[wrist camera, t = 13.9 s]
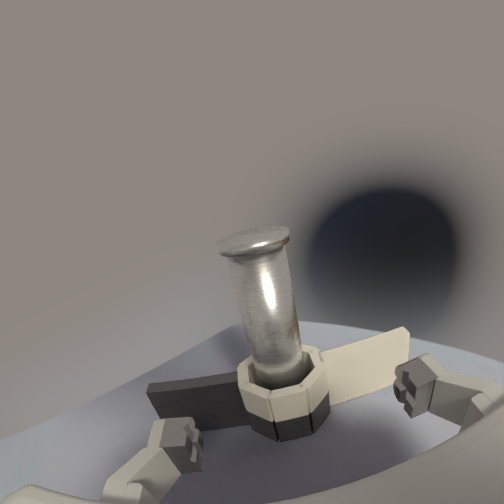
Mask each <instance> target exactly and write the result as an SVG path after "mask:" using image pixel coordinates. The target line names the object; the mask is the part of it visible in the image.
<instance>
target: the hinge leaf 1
mask: <svg viewBox="0 0 504 504" xmlns="http://www.w3.org/2000/svg"><path fill="white" fill-rule="evenodd" d="M307 376H308V375H306V377H307ZM258 386H259V385H258ZM146 394H147V395H148V397H149V399H150V401H151V403H152V405H153V407H154V408H155V410H156V412H157V414H158V416H159V417H160V419H167V418H181V417H192V418H193V420H194V422H195V428H196V429H198V430H199V431H204V430H213V429H221V428H228V427H235V426H242V425H248V424H251V426H252V429H253V430H254V431H256V432H258V433H260V434H262V435H264V436H266V437H268V438H271V439H273V440H275V441H277V442H278V441H279V439H280V442H282V441H287V440H291V439H296V438H300V437H304V436H308V435H312V434H311V432H312V433H315V431H316V430H317V429H318V428H319V426H320V425H321V424H322V423H323V421H324V420H325V419H326V417H327V416H328V415H329V413H330V401H329V390H328V393H327V395H326V396H325V397H324V398H323V400H322V401H321V402H320V403H319V405H318V406H317V407H316V408H315V410H314V411H313V412H312V413H310V412H309V415H306V416H302V417H297V418H293V419H289V420H284V421H280V422H275V420H274V421H273V422H271V421H268V420H266V419H264V418H261V417H259V416H257V415H255V414H253V413H251V412H248V411H247V409H246V408H245V405H244V402H243V399H242V396H241V393H240V390H239V387H238V373H237V372H231V373H225V374H219V375H213V376H207V377H200V378H193V379H186V380H178V381H170V382H161V383H151V384H149V386H148V389H147V392H146Z"/></svg>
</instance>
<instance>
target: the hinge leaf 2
mask: <svg viewBox="0 0 504 504" xmlns="http://www.w3.org/2000/svg"><path fill="white" fill-rule="evenodd" d="M409 338H410V333H409V332H408V331H407V330H406V329H405V328H404V327H400V328H397V329H394V330H392V331H389V332H386V333H383V334H380V335H377V336H374V337H371V338H368V339H365V340H361V341H358V342H355V343H352V344H348V345H345V346H342V347H338V348H335V349H331V350H328V351H324V352H319V350H318V349H316V347H312V346H308V345H303V344H301V345H302V351H303V358H304V365H305V371H306V375H308V376H307V377H306V378H305V379H304V380H303V381H302V382H301V383H300V384H298V385H294V386H290V387H285V388H281V389H277V390H272V391H270V390H268V389H265V388H262V387H260V386H258V385H259V382H258V378H257V375H256V371H255V367H254V363H253V359H252V356H251V355H250V356H249V357H248V358H246V359H245V360H244V361H243V362H241V363H240V364H239V365H238V366H239V367H237V373H238V387H239V390H240V393H241V396H242V399H243V402H244V405H245V408H246V409H247V411H248V412H251V413H253V414H255V415H257V416H259V417H261V418H264V419H266V420H268V421H271V422H273V421H274V420H275V422H280V421H284V420H289V419H293V418H297V417H302V416H306V415H309V412H310V413H312V412H313V411H314V410H315V408H316V407H317V406H318V405H319V403H320V402H321V401H322V400H323V398H324V397H325V396H326V395H327V393H328V390H329V401H330V406H331V405H334V404H338V403H341V402H344V401H347V400H350V399H354V398H357V397H360V396H363V395H365V394H368V393H371V392H374V391H377V390H379V389H382V388H385V387H387V386H390V385H392V384H394V381H395V379H396V378H397V377H396V375H395V374H394V373H395V368H396V366H398V365H400V364H403V363H405V362H407V361H408V351H409Z"/></svg>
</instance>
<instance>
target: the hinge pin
mask: <svg viewBox="0 0 504 504" xmlns="http://www.w3.org/2000/svg"><path fill="white" fill-rule="evenodd" d="M289 240H290V235H289V229H288V228H287V227H283V226H269V227H261V228H255V229H251V230H246V231H242V232H238V233H235V234H232V235H229V236H227V237H225V238H223V239H221V240H219V241H218V243H217V246H218V250H219V254H220V255H222V256H225V257H227V259H228V263H229V267H230V272H231V276H232V280H233V284H234V288H235V292H236V296H237V300H238V305H239V308H240V312H241V317H242V320H243V324H244V328H245V332H246V336H247V340H248V344H249V348H250V352H251V356H252V359H253V363H254V367H255V371H256V375H257V378H258V382H259V386H260V387H262V388H265V389H268V390H270V391H272V390H277V389H281V388H285V387H290V386H294V385H298V384H300V383H301V382H302V381H303V380H304V379H305V378H306V371H305V365H304V358H303V351H302V345H301V338H300V332H299V325H298V319H297V313H296V307H295V301H294V295H293V289H292V283H291V277H290V272H289V266H288V261H287V255H286V249H285V244H286V243H288V242H289Z"/></svg>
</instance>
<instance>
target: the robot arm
mask: <svg viewBox="0 0 504 504" xmlns="http://www.w3.org/2000/svg"><path fill="white" fill-rule="evenodd" d="M394 374H395V375H396V377H397V378H396V379H395V381H394V386H393V388H394V393H395V396H396V398H397V399H398V401H399V402H401V403H404V404H405V405H404V410H405V411H406V412H407V414H408V415H409V417H410V418H414V417H416V416H418V415H420V414H423V413H425V412H427V411H428V412H430V413H432V414H435V415H437V416H439V417H441V418H444V419H446V420H448V421H451V422H453V423H455V424H458V425H460V426H461V428H460V431H459V433H458V434H457V435H455V436H453V437H451V438H450V439H448V440H446V441H445V442H443V443H441V444H439V445H437V446H436V447H434V448H432V449H430V450H428V451H426V452H424V453H422V454H420V455H418V456H416V457H414V458H412V459H410V460H408V461H405V462H403V463H401V464H399V465H397V466H394V467H392V468H390V469H387V470H385V471H382V472H380V473H377V474H375V475H372V476H369V477H367V478H364V479H361V480H358V481H355V482H352V483H349V484H346V485H343V486H340V487H336V488H333V489H329V490H326V491H322V492H318V493H314V494H310V495H306V496H302V497H297V498H293V499H288V500H283V501H277V502H271V503H265V504H504V388H503V387H502V386H501V385H500V384H499V383H498V382H497V381H494V380H489V379H484V378H479V377H475V376H470V375H466V374H461V373H457V372H453V371H451V372H448V371H447V370H446V369H445V368H444V367H442V366H441V365H440V364H439V363H438V362H437V361H436V360H435V359H434V358H433V357H432V356H431V355H430V354H428V353H425V354H423V355H421V356H419V357H417V358H414V359H412V360H410V361H407V362H405V363H403V364H400V365H398V366H396V368H395V373H394ZM202 451H203V439H202V436H201V433H200V431H199V430H198V429H196V428H195V422H194V420H193V418H192V417H181V418H167V419H155V420H154V421H153V425H152V428H151V432H150V436H149V440H148V443H147V447H146V448H143V449H141V450H140V451H139V452H138V453H137V454H136V455H135V456H133V457H132V458H131V459H130V460H129V461H128V462H127V463H125V464H124V465H123V466H122V467H121V468H120V469H118V470H117V471H116V472H115V473H114V474H113V475H111V476H110V477H109V478H108V479H107V480H106V483H105V486H104V490H103V493H102V496H101V499H100V502H99V501H94V500H89V499H84V498H79V497H75V496H71V495H67V494H63V493H59V492H56V491H52V490H49V489H46V488H43V487H40V486H37V485H27V486H24V487H22V488H20V489H18V490H17V491H15V492H13V493H12V494H10V495H8V496H6V497H5V498H4V499H3V500H2V501H1V502H0V504H160V501H161V500H162V499H163V498H164V496H165V495H166V494H167V493H168V491H169V490H170V489H171V487H172V486H173V485H174V484H175V482H176V481H177V480H178V478H179V477H180V476H181V473H192V472H202V460H203V459H202V457H201V456H200V454H201V453H202Z"/></svg>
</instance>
